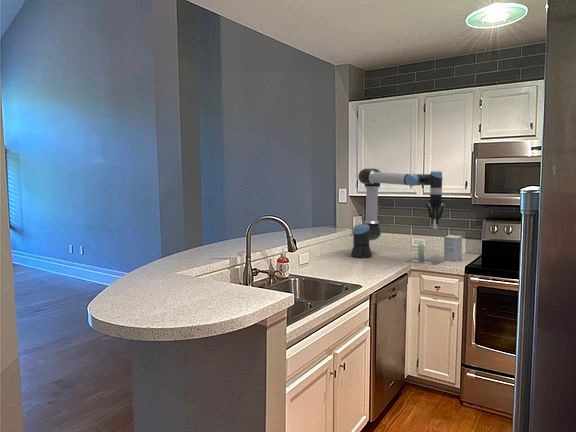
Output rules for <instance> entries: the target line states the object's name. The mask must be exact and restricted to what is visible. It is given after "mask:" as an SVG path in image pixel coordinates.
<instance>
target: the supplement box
mask: <svg viewBox="0 0 576 432" xmlns="http://www.w3.org/2000/svg"><path fill="white" fill-rule="evenodd" d="M462 255H463V236H462V235H451V234H450V235H446V236H444V238H443V256H444V261H450V262H460V261H462V259H463V258H462V257H463V256H462Z"/></svg>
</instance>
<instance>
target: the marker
mask: <svg viewBox="0 0 576 432" xmlns="http://www.w3.org/2000/svg"><path fill="white" fill-rule="evenodd" d="M417 249H418V251H417V253H418V254H417V256H418V257H417V258H418V260H419V262H423V260H424V259H425V257H424V256H425V245H424V243H421V242H420V243H418V246H417Z"/></svg>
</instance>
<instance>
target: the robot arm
mask: <svg viewBox="0 0 576 432" xmlns="http://www.w3.org/2000/svg"><path fill="white" fill-rule="evenodd" d="M357 178H358V180H359V182H360V183H361V184H363V187H364V188H365V189H366V191H365V192H366V194H365V220H364V221H363V223H361V224H356V225H354V226H353V227H352V228H353V230H352V232H353V233H352V234H353V236H352V239H353V244H352V250H351V252H350V257H352V258H357V259H367V258H368V259H369V258H373V254H372V249H371V247H370V241H374V240H377V239H379V238H380V237H381V235H382V227H381V226H380V222H379V221H378V206H379V205H378V204H379V202H378V199H379V197H378V196H379V188H381V184H388V185H389V184H391V185H401V186H409V187H410V186H411V187H414V186H430V187H429V202H428V203H426V204H425V206H426V208H427V213H428V216H429V219H431V220H432V221H431V223H432V225H433V227H432V229H433V230H438V225H439V220H440V219H442V217H443V214H444V211H445V210H444V209H445V207H446V204H444V203H443V200H442V198H443V172H442V171H440V170H436V171H435V170H431V171H430V173H429V174H428V173H427V174H425V173H422V174H420V173H418V174H417V173H416V174H414V173H395V172H382V171H381V170H380V169H378V168H363V169H361V170H360V171H359V173H358V177H357Z"/></svg>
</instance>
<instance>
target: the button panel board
mask: <svg viewBox="0 0 576 432" xmlns="http://www.w3.org/2000/svg"><path fill="white" fill-rule="evenodd" d="M405 262H407V263H414V264H424V265H432V266H437V265H439V264H440V265H441V264H442V263H445V262H446V260H444V255H440V257H434V255H431V256H430V258H424V260H423V262H419V260H418V257H413V258H409V259H408V260H407V259H406V260H404V263H405Z"/></svg>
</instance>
